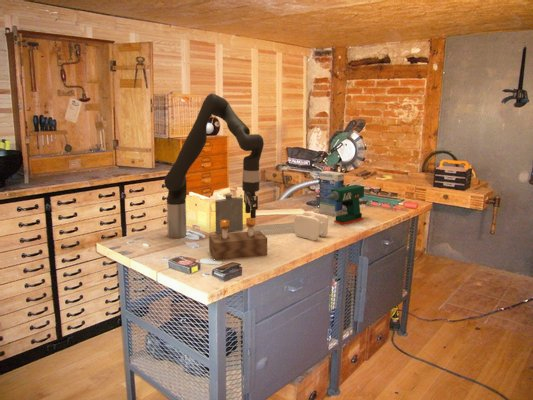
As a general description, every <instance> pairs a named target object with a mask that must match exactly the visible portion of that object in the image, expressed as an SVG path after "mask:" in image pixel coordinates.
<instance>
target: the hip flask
mask: <svg viewBox="0 0 533 400" xmlns="http://www.w3.org/2000/svg"><path fill="white" fill-rule="evenodd" d="M224 197H225V198H222V199H218V200H215V202H214V205H215V234H222V228H220V220H224V219H226V220H229V228H228V233H234V232H240V231H241V232H242V231H243V230H244V227H243V226H244V215H243V214H244V210H243V209H244V205H243V204H244V197H242V196H241V197H239V196H238V197H236V196H235V197H234V196H233V195H232V194H231V193H225V195H224Z"/></svg>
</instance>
